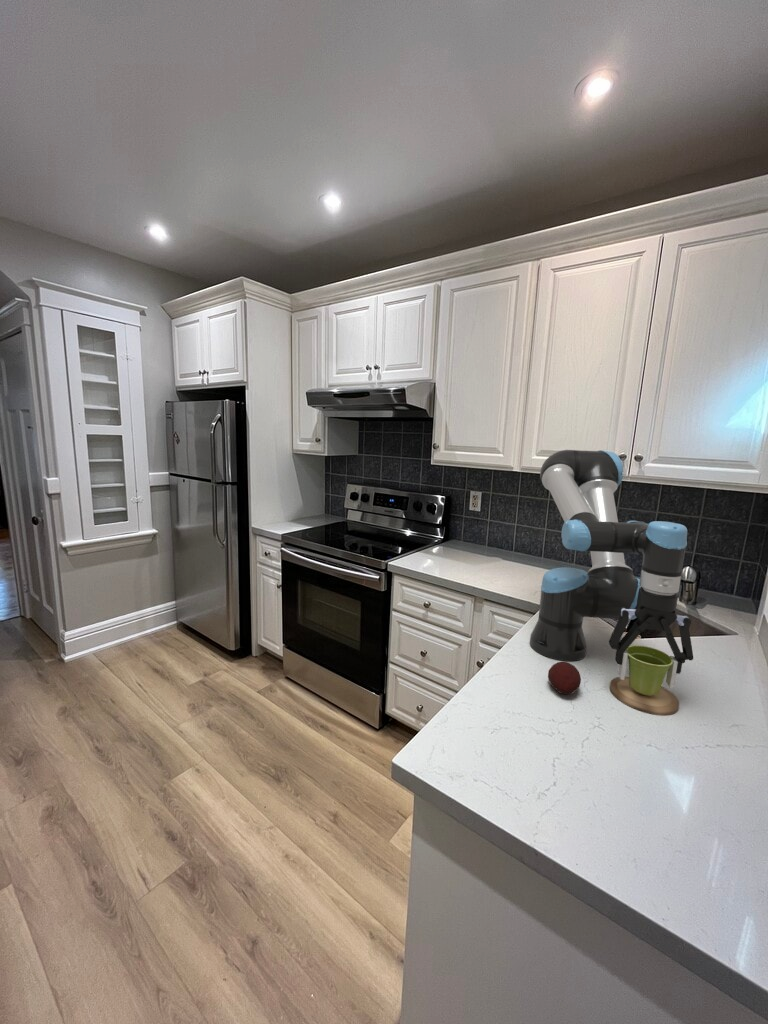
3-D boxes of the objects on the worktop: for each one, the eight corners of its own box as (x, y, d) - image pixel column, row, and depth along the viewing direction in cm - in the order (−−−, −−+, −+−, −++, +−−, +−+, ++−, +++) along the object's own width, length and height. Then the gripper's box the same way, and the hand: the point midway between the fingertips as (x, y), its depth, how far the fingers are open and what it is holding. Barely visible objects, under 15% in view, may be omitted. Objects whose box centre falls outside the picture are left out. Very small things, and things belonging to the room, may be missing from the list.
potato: (576, 681, 105) (579, 658, 104) (582, 704, 96) (585, 679, 95) (545, 675, 108) (548, 653, 107) (548, 697, 98) (550, 673, 97)
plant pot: (668, 706, 93) (674, 669, 92) (620, 691, 98) (624, 657, 97) (666, 686, 101) (672, 652, 100) (622, 673, 106) (626, 641, 104)
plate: (617, 707, 95) (618, 703, 95) (603, 675, 108) (604, 671, 108) (689, 720, 91) (689, 716, 91) (665, 686, 105) (666, 681, 104)
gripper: (608, 589, 95) (596, 680, 99) (723, 602, 89) (706, 699, 93) (601, 579, 102) (590, 664, 106) (707, 590, 96) (692, 680, 100)
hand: (644, 680), depth 99 cm, fingers open, 9 cm apart
